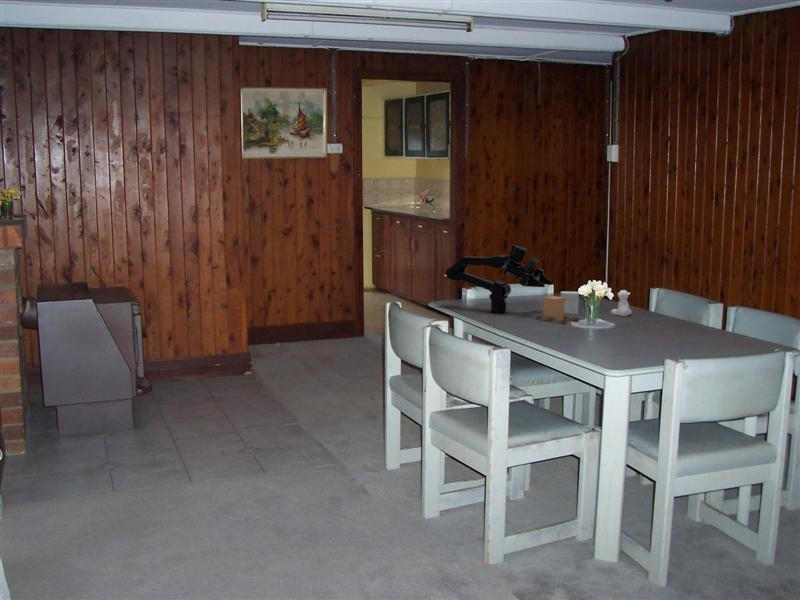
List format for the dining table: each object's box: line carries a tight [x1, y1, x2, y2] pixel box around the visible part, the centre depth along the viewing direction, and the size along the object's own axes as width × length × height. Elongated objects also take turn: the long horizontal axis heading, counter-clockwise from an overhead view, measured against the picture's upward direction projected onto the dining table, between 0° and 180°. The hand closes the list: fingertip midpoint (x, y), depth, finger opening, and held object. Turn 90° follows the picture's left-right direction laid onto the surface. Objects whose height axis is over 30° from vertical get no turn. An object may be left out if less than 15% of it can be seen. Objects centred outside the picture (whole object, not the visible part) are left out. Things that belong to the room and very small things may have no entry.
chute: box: [535, 314, 580, 326], centre depth 383 cm, size 18×10×3 cm, turn 43°
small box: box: [560, 290, 580, 315], centre depth 404 cm, size 8×6×10 cm
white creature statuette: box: [610, 289, 632, 317], centre depth 404 cm, size 10×9×12 cm
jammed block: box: [542, 295, 565, 320], centre depth 385 cm, size 6×7×10 cm
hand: (548, 285), depth 394 cm, fingers open, 9 cm apart
